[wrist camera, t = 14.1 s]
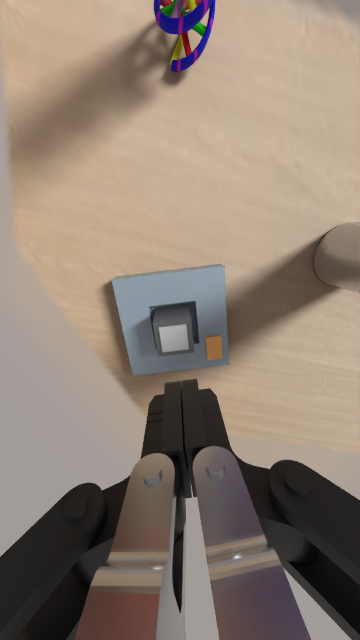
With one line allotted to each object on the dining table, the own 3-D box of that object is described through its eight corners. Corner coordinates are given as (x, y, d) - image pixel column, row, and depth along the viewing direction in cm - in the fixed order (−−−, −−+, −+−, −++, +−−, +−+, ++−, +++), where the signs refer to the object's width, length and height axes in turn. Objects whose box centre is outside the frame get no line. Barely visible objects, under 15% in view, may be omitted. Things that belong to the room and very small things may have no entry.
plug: (187, 303, 34) (191, 318, 28) (190, 332, 36) (194, 353, 29) (156, 307, 34) (152, 323, 28) (160, 335, 36) (158, 357, 29)
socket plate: (220, 264, 33) (225, 266, 30) (224, 355, 38) (229, 365, 35) (116, 276, 33) (110, 280, 30) (135, 366, 39) (132, 377, 35)
